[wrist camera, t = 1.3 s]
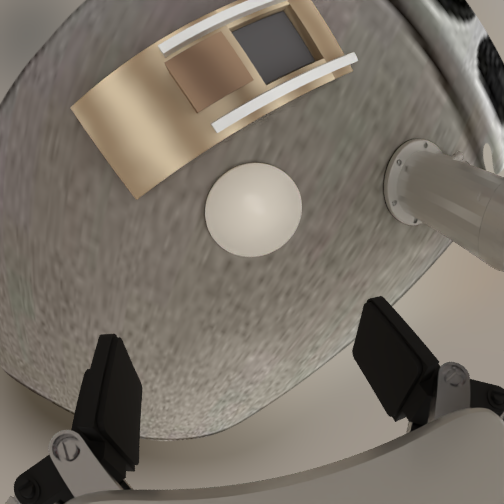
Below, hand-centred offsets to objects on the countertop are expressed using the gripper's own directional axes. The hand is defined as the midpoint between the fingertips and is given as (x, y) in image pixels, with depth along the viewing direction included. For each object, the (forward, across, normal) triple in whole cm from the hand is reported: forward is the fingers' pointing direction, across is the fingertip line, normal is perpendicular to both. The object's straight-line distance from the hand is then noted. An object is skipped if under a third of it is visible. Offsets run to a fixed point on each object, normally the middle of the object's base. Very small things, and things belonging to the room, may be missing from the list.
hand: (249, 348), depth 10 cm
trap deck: (+23, -1, -12) cm, 26 cm away
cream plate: (+23, -5, +3) cm, 24 cm away
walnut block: (+20, 0, -12) cm, 23 cm away
